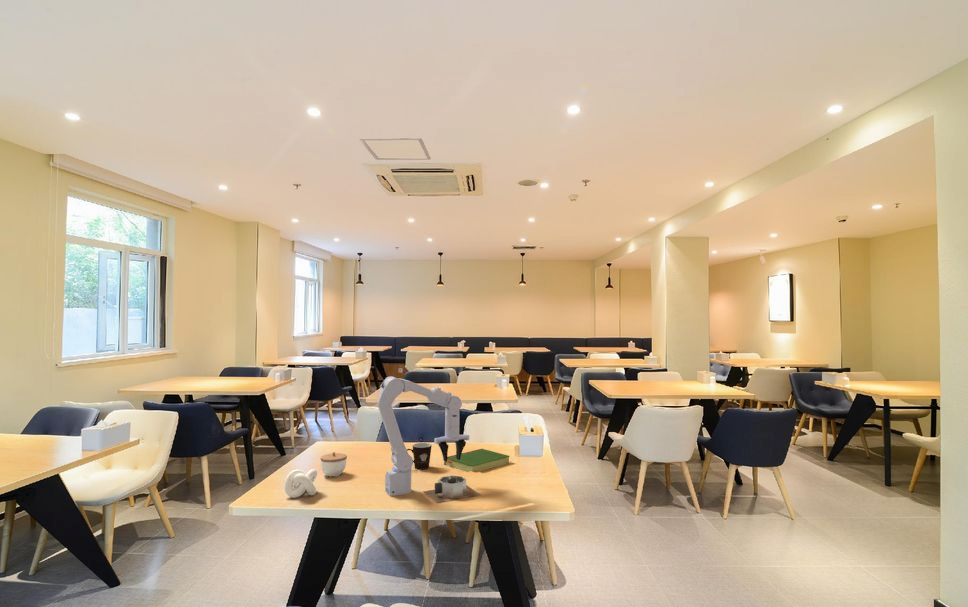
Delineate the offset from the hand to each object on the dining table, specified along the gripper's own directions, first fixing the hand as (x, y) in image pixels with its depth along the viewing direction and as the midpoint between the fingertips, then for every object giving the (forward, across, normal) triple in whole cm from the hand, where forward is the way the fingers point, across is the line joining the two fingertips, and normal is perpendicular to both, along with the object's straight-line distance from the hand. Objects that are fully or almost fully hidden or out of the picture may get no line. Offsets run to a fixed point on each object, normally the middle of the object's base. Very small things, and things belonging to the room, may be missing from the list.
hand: (451, 460), depth 188 cm
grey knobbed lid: (+9, -4, -9) cm, 13 cm away
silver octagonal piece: (+10, -5, -9) cm, 14 cm away
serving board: (+10, -4, -9) cm, 14 cm away
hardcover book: (+11, +24, +24) cm, 36 cm away
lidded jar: (+11, -38, +38) cm, 55 cm away
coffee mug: (+11, -2, +31) cm, 33 cm away
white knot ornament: (+11, -54, +18) cm, 58 cm away
